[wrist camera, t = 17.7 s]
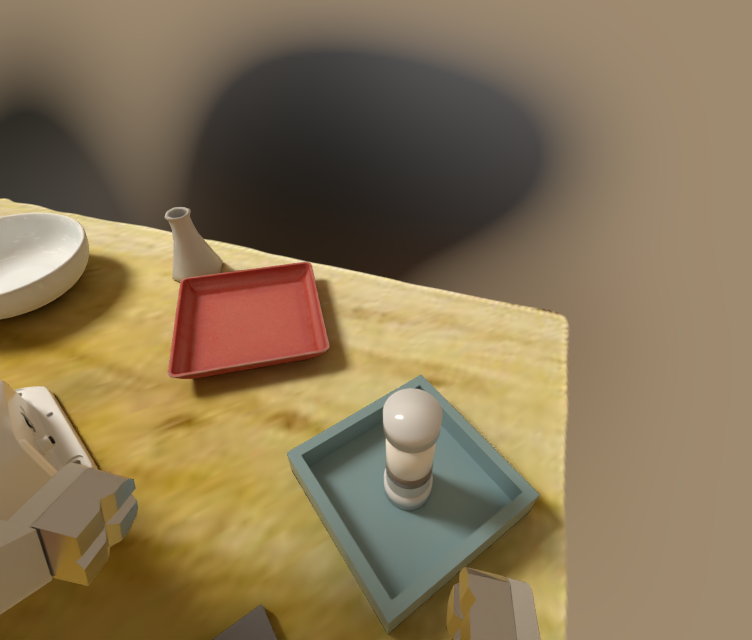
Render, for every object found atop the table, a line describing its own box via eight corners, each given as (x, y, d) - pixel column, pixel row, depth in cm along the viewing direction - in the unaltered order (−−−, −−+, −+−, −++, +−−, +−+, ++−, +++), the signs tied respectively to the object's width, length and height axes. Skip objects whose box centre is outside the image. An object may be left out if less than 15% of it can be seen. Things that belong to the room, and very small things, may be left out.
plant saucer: (313, 277, 65) (310, 259, 62) (332, 367, 52) (330, 348, 50) (187, 296, 62) (180, 277, 59) (176, 396, 49) (166, 378, 47)
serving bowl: (-12, 366, 52) (-51, 326, 47) (-93, 308, 60) (-134, 268, 55) (134, 274, 65) (115, 235, 60) (52, 236, 72) (29, 198, 68)
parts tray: (291, 470, 42) (286, 452, 40) (419, 394, 49) (421, 374, 46) (387, 634, 33) (388, 623, 30) (529, 511, 39) (539, 494, 37)
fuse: (375, 480, 41) (371, 405, 32) (412, 456, 42) (418, 379, 34) (402, 520, 38) (406, 449, 30) (441, 493, 40) (454, 419, 31)
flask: (231, 259, 67) (213, 201, 60) (210, 289, 62) (188, 229, 55) (188, 255, 68) (166, 197, 61) (164, 283, 63) (137, 224, 56)
